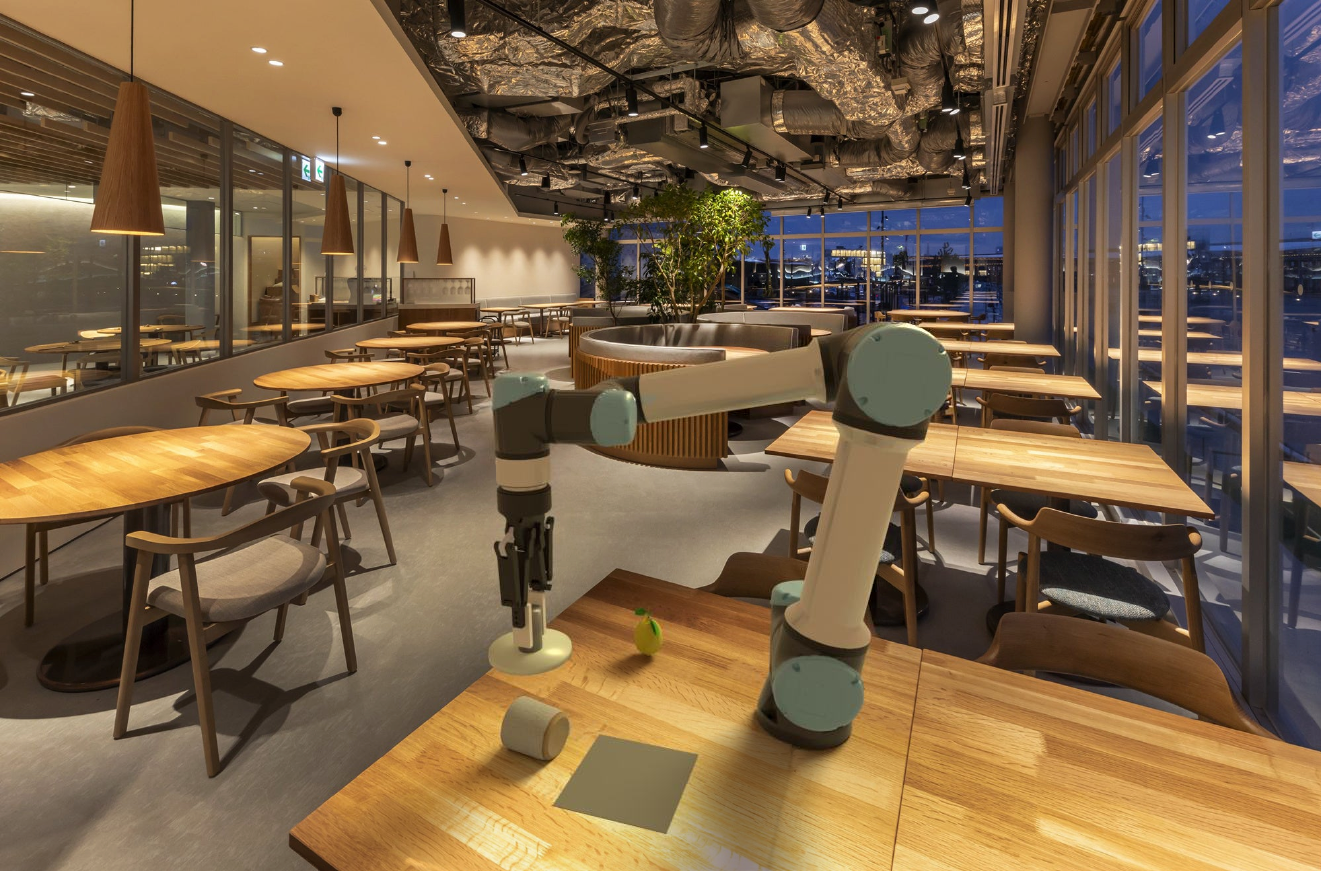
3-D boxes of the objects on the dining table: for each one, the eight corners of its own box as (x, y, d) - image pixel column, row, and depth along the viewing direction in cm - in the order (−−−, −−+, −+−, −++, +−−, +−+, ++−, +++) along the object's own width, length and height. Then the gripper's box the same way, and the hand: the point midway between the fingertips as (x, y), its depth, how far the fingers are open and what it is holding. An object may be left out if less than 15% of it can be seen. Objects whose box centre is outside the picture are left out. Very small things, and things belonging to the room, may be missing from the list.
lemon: (634, 646, 133) (634, 598, 131) (664, 647, 132) (664, 600, 130) (630, 663, 126) (629, 614, 124) (661, 665, 126) (660, 615, 124)
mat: (698, 757, 100) (698, 754, 100) (666, 836, 85) (666, 833, 85) (599, 737, 105) (599, 734, 104) (552, 808, 90) (552, 805, 90)
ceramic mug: (546, 773, 96) (544, 725, 95) (500, 758, 100) (498, 711, 98) (583, 733, 106) (583, 688, 105) (540, 720, 109) (539, 676, 108)
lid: (584, 640, 102) (583, 597, 101) (549, 681, 91) (547, 634, 90) (515, 629, 106) (513, 587, 104) (472, 667, 95) (469, 621, 93)
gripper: (529, 469, 102) (534, 611, 107) (466, 497, 87) (476, 663, 91) (573, 472, 100) (577, 618, 105) (517, 502, 85) (525, 672, 89)
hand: (530, 638), depth 98 cm, fingers closed on lid, 3 cm apart
